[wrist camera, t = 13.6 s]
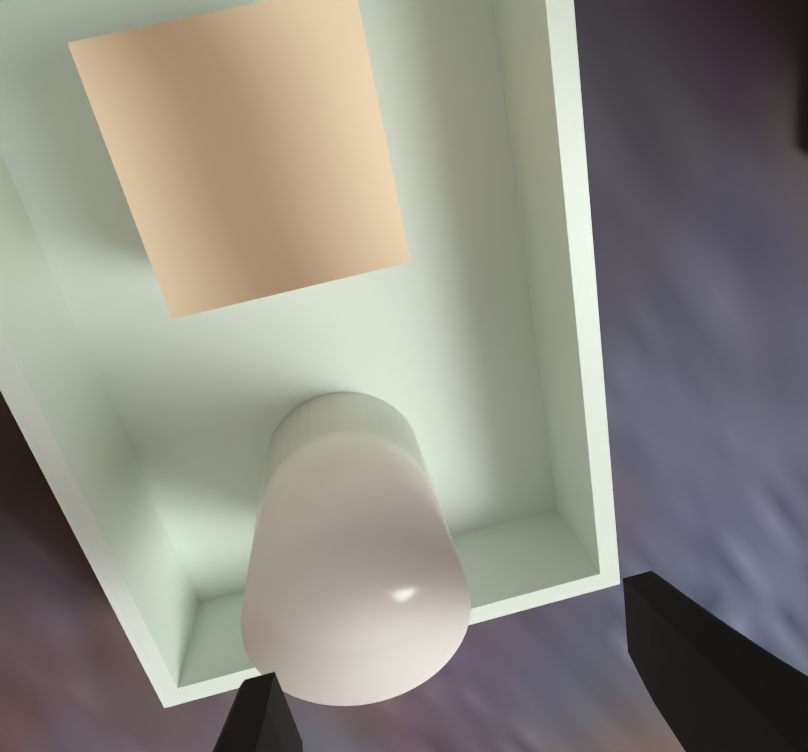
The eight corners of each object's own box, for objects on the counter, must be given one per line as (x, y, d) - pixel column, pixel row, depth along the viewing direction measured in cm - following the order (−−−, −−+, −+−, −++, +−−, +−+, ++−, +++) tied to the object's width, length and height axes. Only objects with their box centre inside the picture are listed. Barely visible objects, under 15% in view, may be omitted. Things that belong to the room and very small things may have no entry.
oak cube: (341, 33, 15) (354, -18, 10) (384, 230, 17) (411, 261, 12) (145, 76, 15) (67, 43, 10) (211, 271, 16) (171, 319, 12)
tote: (495, -123, 15) (556, -215, 11) (568, 510, 22) (620, 583, 18) (-88, -6, 14) (-234, -63, 10) (190, 610, 21) (164, 708, 17)
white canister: (409, 379, 18) (460, 502, 12) (427, 511, 20) (479, 679, 14) (250, 407, 18) (214, 550, 12) (283, 539, 20) (268, 725, 14)
